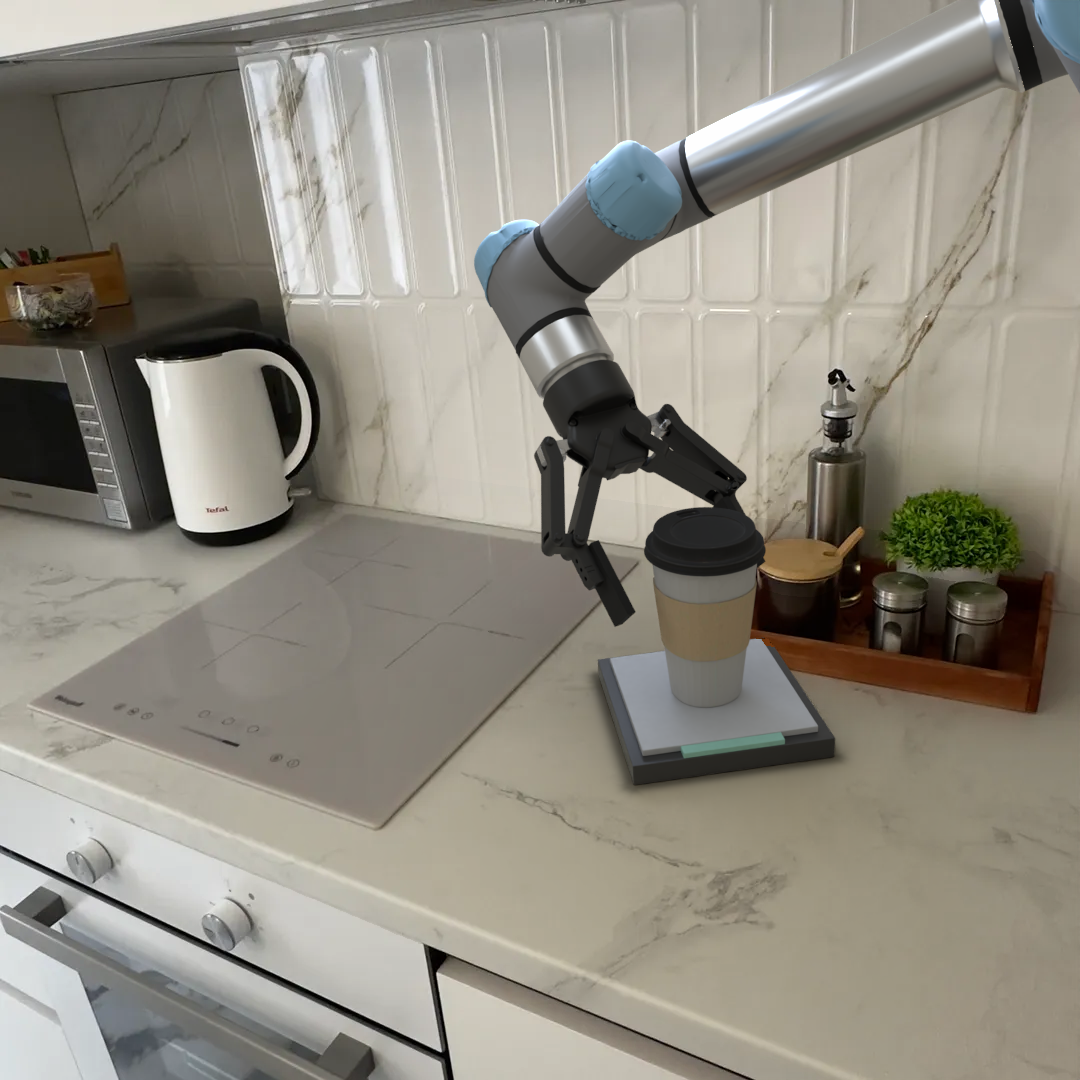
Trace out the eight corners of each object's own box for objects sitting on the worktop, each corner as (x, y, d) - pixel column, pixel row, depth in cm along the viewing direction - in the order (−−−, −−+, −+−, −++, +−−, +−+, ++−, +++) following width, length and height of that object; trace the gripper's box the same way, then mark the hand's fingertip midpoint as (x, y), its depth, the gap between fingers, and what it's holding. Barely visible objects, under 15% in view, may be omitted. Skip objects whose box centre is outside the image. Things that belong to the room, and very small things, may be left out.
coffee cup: (695, 648, 88) (692, 494, 82) (785, 683, 82) (790, 520, 76) (626, 694, 82) (618, 532, 76) (718, 736, 76) (717, 563, 70)
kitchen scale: (767, 653, 91) (768, 631, 90) (834, 756, 76) (835, 731, 75) (598, 675, 90) (597, 653, 89) (633, 785, 75) (632, 760, 74)
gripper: (671, 376, 94) (780, 567, 89) (442, 436, 83) (549, 658, 77) (707, 329, 88) (826, 531, 82) (463, 387, 77) (582, 626, 71)
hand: (692, 594), depth 80 cm, fingers open, 13 cm apart
